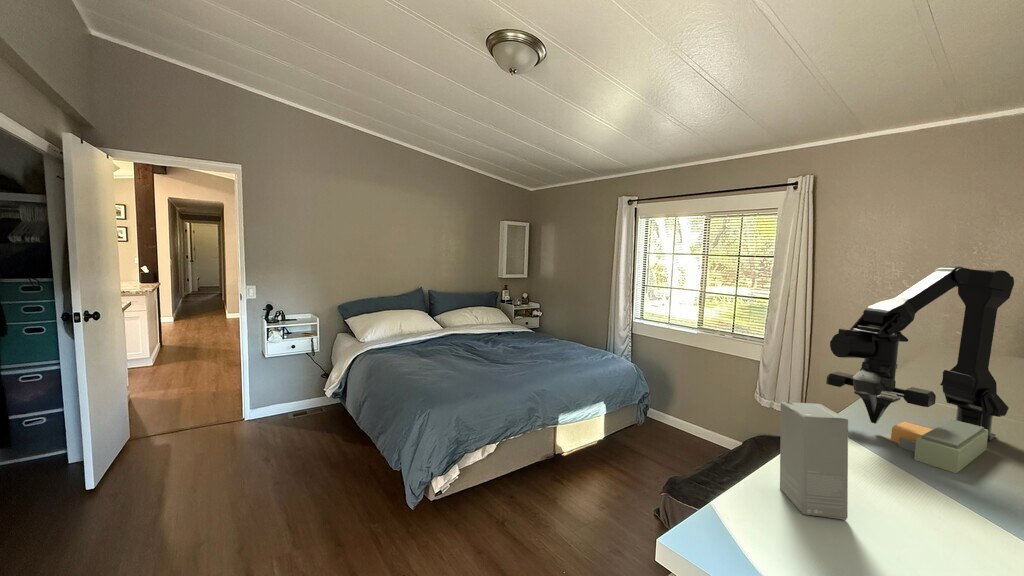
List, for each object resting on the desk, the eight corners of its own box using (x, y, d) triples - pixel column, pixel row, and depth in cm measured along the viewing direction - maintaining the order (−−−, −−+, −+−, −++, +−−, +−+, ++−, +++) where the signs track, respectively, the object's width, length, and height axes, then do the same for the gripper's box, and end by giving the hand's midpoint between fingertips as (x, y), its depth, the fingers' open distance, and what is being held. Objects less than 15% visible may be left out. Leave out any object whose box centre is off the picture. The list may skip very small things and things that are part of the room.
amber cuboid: (902, 435, 96) (903, 421, 96) (937, 446, 91) (939, 431, 91) (890, 441, 93) (892, 426, 93) (926, 452, 88) (928, 437, 88)
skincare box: (848, 522, 62) (857, 420, 61) (796, 515, 63) (804, 415, 62) (818, 491, 70) (826, 402, 69) (772, 486, 72) (779, 398, 71)
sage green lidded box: (923, 432, 98) (925, 412, 98) (986, 449, 90) (988, 427, 89) (888, 451, 87) (891, 428, 87) (956, 473, 78) (959, 447, 78)
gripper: (819, 353, 100) (813, 415, 101) (924, 372, 84) (916, 445, 85) (838, 349, 106) (833, 408, 107) (939, 367, 90) (932, 435, 91)
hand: (873, 422), depth 97 cm, fingers closed
